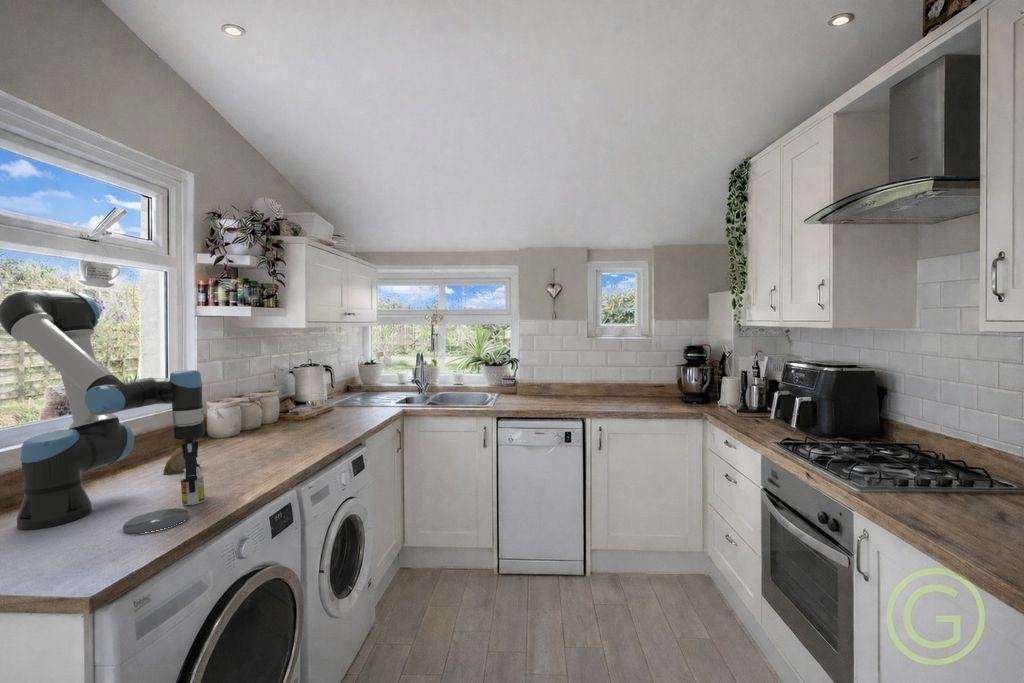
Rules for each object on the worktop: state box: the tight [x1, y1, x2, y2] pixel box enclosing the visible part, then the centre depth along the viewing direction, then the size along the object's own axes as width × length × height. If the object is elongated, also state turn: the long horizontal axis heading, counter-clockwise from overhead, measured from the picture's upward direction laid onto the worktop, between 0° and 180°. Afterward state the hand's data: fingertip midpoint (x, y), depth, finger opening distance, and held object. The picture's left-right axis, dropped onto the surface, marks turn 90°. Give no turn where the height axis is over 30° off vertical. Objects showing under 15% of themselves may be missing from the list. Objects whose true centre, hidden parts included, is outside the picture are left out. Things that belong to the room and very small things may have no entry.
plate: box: [122, 507, 190, 535], centre depth 130 cm, size 14×14×1 cm
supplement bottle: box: [180, 467, 205, 507], centre depth 144 cm, size 6×6×10 cm
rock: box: [162, 446, 198, 475], centre depth 178 cm, size 10×8×10 cm
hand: (193, 496), depth 144 cm, fingers open, 12 cm apart
